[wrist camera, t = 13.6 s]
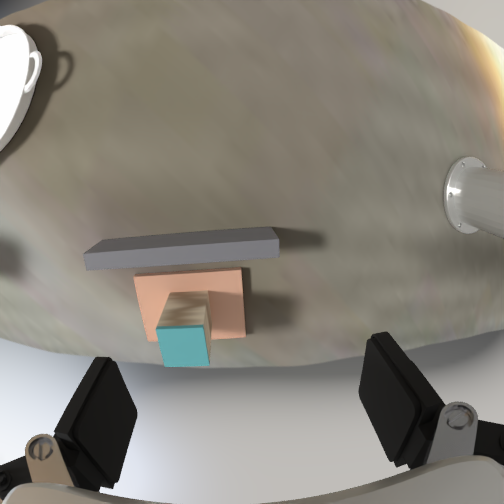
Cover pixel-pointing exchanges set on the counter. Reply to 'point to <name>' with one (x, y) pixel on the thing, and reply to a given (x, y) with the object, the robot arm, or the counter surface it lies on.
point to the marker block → (185, 329)
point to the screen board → (183, 248)
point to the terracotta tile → (214, 280)
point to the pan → (16, 78)
